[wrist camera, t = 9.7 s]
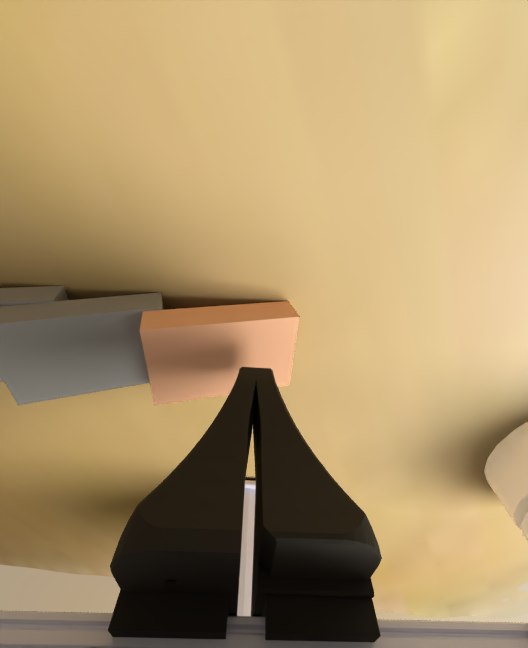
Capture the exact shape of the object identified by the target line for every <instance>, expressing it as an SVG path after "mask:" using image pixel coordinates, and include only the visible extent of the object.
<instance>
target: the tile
mask: <svg viewBox="0 0 528 648" xmlns="http://www.w3.org/2000/svg"><path fill="white" fill-rule="evenodd" d="M299 318H300V316H299V315H298V314H297V312H296V311H295V309H294V308H293V307H292V305H291V304H290V302H289V301H282V302H268V303H253V304H239V305H225V306H210V307H196V308H181V309H167V310H153V311H143V313H142V319H141V325H140V335H141V340H142V345H143V350H144V355H145V360H146V365H147V370H148V375H149V380H150V385H151V390H152V395H153V400H154V405H162V404H169V403H175V402H182V401H189V400H195V399H202V398H209V397H216V396H222V395H229V394H230V392H231V390H232V388H233V386H234V384H235V381H236V379H237V376H238V373H239V369H240V368H241V367H255V368H271V369H272V370H273V374H274V378H275V381H276V384H277V387H283V386H289V385H290V378H291V371H292V365H293V358H294V351H295V345H296V338H297V331H298V325H299Z"/></svg>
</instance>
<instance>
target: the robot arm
mask: <svg viewBox="0 0 528 648" xmlns="http://www.w3.org/2000/svg"><path fill="white" fill-rule="evenodd" d="M252 426H253V435H254V455H255V476H256V481H251V480H245V477H246V469H247V462H248V455H249V448H250V441H251V434H252ZM381 559H382V557H381V554H380V549H379V545H378V542H377V540H376V537H375V535H374V532H373V530H372V527H371V525H370V523H369V520H368V518H367V516H366V514H365V513H364V512H363V511H362V510H361V509H360V508H359V507H358V506H357V504H356V503H355V502H354V501H353V500H352V499H351V498H350V497H349V496H348V495H347V494H346V493H345V492H344V491H343V489H342V488H341V487H340V486H339V485H338V484H337V482H336V481H335V480H334V479H333V478H332V477H331V475H330V474H329V473H328V471H327V470H326V469H325V468H324V466H323V465H322V464H321V462H320V461H319V460H318V459H317V457H316V456H315V455H314V453H313V452H312V450H311V449H310V447H309V446H308V444H307V443H306V441H305V440H304V438H303V437H302V435H301V433H300V432H299V430H298V428H297V427H296V425H295V423H294V421H293V419H292V418H291V416H290V414H289V412H288V410H287V408H286V406H285V403H284V401H283V399H282V397H281V394H280V392H279V389H278V387H277V384H276V381H275V378H274V374H273V370H272V369H271V368H255V367H241V368H240V369H239V373H238V376H237V379H236V381H235V384H234V386H233V388H232V390H231V392H230V394H229V396H228V398H227V400H226V402H225V403H224V405H223V407H222V408H221V410H220V412H219V413H218V415H217V417H216V418H215V420H214V421H213V423H212V424H211V426H210V427H209V428H208V430H207V431H206V433H205V434H204V435H203V437H202V438H201V439H200V441H199V442H198V443H197V444H196V445H195V447H194V448H193V449H192V450H191V452H190V453H189V454H188V455H187V456H186V457H185V459H184V460H183V461H182V462H181V463H180V464H179V465H178V466H177V467H176V468H175V469H174V470H173V471H172V473H171V474H170V475H169V476H168V477H167V478H166V479H165V480H164V481H163V482H162V483H161V484H160V485H159V486H158V487H156V488H155V489H154V490H153V491H152V492H151V493H150V494H149V495H148V496H147V497H146V498H145V499H144V500H142V501H141V502H140V503H139V504H138V506H137V507H136V509H135V510H134V512H133V514H132V516H131V517H130V519H129V521H128V523H127V525H126V527H125V529H124V531H123V533H122V535H121V537H120V540H119V542H118V545H117V548H116V551H115V554H114V556H113V559H112V562H111V565H110V568H111V572H112V574H113V576H114V578H115V580H116V582H117V583H118V585H119V587H120V589H121V590H120V593H119V597H118V600H117V603H116V606H115V609H114V612H113V613H81V612H80V613H78V612H37V611H0V648H528V623H509V622H508V623H507V622H467V621H423V620H380V619H377V618H376V614H375V609H374V605H373V601H372V598H373V597H374V590H373V586H372V582H371V578H370V577H371V576H372V574H373V573H374V571H375V570H376V569H377V567H378V566H379V564H380V561H381Z"/></svg>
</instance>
